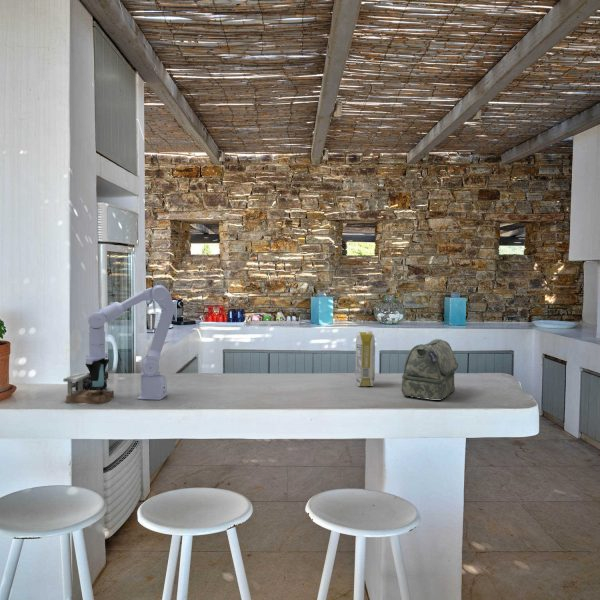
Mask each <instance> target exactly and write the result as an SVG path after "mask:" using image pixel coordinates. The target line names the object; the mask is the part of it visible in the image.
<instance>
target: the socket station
mask: <svg viewBox="0 0 600 600" xmlns="http://www.w3.org/2000/svg"><path fill="white" fill-rule="evenodd" d="M86 377H89V374H87V373H74V374H71V375H70V376H67V377H65V378H63V382H66V383H67V395H66V396H65V399H66V400H65V401H66V402H71V403H70V404H93V405H94V404H95V405H96V404H97V405H103V404H105V403H107V402H110V401H111V400H112V399H114V396H115V392H114V390H100V391H96V390H83V379H84V378H86ZM77 381H78V391H76V390H75V391H74V392H73V387H72V383H75V382H77ZM66 402H65V403H66Z"/></svg>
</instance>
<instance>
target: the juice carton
mask: <svg viewBox="0 0 600 600" xmlns="http://www.w3.org/2000/svg"><path fill="white" fill-rule="evenodd" d="M375 361H376V338H375V334H373V331H372V330H365V331H363V332H362V331H361V332H360V331H359V332H357V333H356V338H355V370H354V372H355V381H356V384H357V387H358V386H373V387H374V383H375V375H376V374H375V373H376V372H375V370H376V367H375V366H376V362H375Z"/></svg>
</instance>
